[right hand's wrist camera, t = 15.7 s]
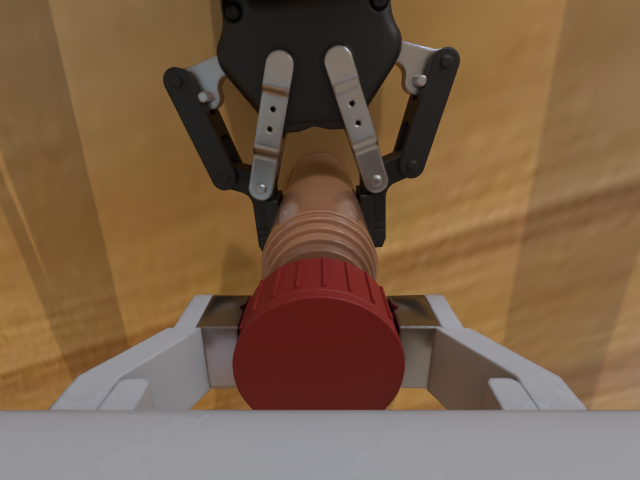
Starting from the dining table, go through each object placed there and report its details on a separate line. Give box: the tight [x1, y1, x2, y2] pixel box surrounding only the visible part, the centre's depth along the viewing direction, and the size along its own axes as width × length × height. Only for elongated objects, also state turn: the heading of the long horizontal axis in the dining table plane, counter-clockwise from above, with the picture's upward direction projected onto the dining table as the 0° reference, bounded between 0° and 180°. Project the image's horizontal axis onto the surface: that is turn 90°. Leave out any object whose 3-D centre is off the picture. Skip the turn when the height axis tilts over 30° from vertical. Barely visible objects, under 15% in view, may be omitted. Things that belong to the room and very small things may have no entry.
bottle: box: [262, 153, 377, 281], centre depth 17 cm, size 4×4×18 cm
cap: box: [232, 257, 405, 410], centre depth 9 cm, size 4×4×2 cm
